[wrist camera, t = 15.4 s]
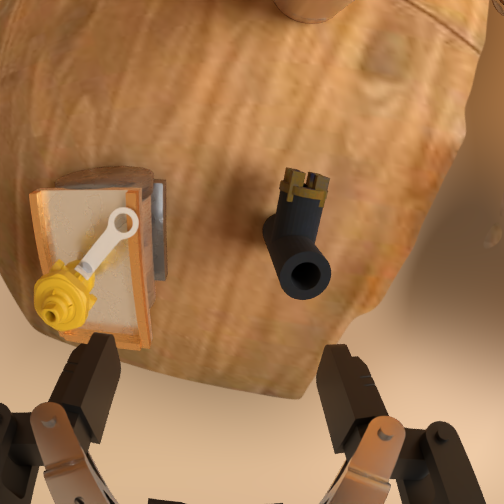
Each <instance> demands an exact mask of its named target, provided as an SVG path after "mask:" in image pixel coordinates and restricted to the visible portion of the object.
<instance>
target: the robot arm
mask: <svg viewBox="0 0 504 504" xmlns="http://www.w3.org/2000/svg"><path fill="white" fill-rule="evenodd" d="M353 1H354V0H274V3H275V4H276V6H277V7H278V9H279V10H280V11H282V12H283V13H284V14H285V15H286V16H288V17H290V18H291V19H294V20H296V21H299V22H303V23H310V24H314V23H321V22H325V21H327V20H329V19H331V18H332V17H333V16H335V15H336V14H337V13H338V12H340V11H341V10H342V9H344V8H345V7H346V6H348V5H349V4H350V3H351V2H353ZM120 373H121V364H120V359H119V355H118V351H117V347H116V342H115V338H114V336H113V334H106V333H98V332H94V333H93V334H92V336H91V338H90V340H89V342H88V344H82V343H81V344H80V345H79V346H78V347H77V348H76V349H74V350H73V351H72V353H71V355H70V357H69V359H68V361H67V364H66V365H65V367H64V369H63V372H62V373H61V375H60V377H59V379H58V382H57V384H56V386H55V388H54V390H53V392H52V395H51V397H50V399H49V401H48V402H45V403H42V404H39V405H38V406H37V407H35V409H34V410H33V411H32V412H28V413H11V412H10V410H9V409H8V407H7V406H6V405H4V404H2V403H0V504H31V499H32V495H33V490H34V486H35V482H36V478H37V473H38V470H39V466H45V469H46V471H44V478H45V480H46V483H47V486H48V488H49V491H50V493H51V495H52V497H53V500H54V502H55V504H118V502H117V501H116V499H115V498H114V496H113V495H112V493H111V492H110V490H109V489H108V487H107V485H106V483H105V481H104V480H103V478H102V476H101V474H100V472H99V471H98V469H97V467H96V465H95V463H94V461H93V459H92V457H91V455H90V453H89V451H88V449H89V446H90V442H92V443H97V444H100V442H101V439H102V435H103V431H104V428H105V424H106V421H107V417H108V414H109V410H110V407H111V404H112V400H113V397H114V394H115V391H116V387H117V384H118V381H119V378H120ZM316 383H317V388H318V392H319V395H320V399H321V403H322V407H323V410H324V414H325V418H326V422H327V425H328V429H329V433H330V437H331V441H332V445H333V448H334V452H335V454H338V453H345V455H346V460H345V462H344V464H343V465H342V467H341V469H340V471H339V473H338V474H337V476H336V478H335V479H334V481H333V483H332V484H331V486H330V488H329V490H328V491H327V493H326V495H325V496H324V498H323V499H322V501H321V502H320V503H319V504H384V502H385V500H386V498H387V495H388V493H389V491H390V487H391V485H390V484H389V479H396V482H397V486H398V489H399V493H400V497H401V501H402V504H486V502H485V500H484V497H483V494H482V491H481V489H480V486H479V484H478V481H477V478H476V476H475V474H474V471H473V469H472V466H471V464H470V461H469V459H468V456H467V455H466V452H465V450H464V447H463V445H462V443H461V440H460V438H459V436H458V434H457V432H456V430H455V429H454V427H452V426H451V425H450V424H448V423H446V422H442V421H437V422H434V423H432V424H430V425H429V426H428V428H427V429H426V430H422V429H409V428H405V427H403V425H402V424H401V423H400V422H399V421H398V420H397V419H395V418H393V417H390V416H389V415H388V413H387V410H386V408H385V406H384V403H383V401H382V399H381V396H380V394H379V392H378V390H377V387H376V386H375V383H374V380H373V378H372V377H371V374H370V372H369V369H368V367H367V365H366V364H365V363H364V362H363V361H362V360H361V359H360V358H359V357H358V356H357V357H352V356H351V354H350V352H349V350H348V347H347V345H345V344H333V345H326V346H325V348H324V351H323V354H322V358H321V361H320V364H319V367H318V370H317V376H316ZM148 504H185V503H182V502H174V501H165V500H157V499H150V498H149V499H148ZM276 504H283V503H276Z"/></svg>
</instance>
